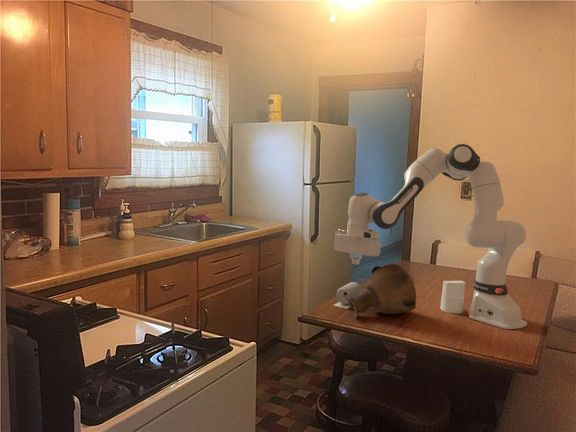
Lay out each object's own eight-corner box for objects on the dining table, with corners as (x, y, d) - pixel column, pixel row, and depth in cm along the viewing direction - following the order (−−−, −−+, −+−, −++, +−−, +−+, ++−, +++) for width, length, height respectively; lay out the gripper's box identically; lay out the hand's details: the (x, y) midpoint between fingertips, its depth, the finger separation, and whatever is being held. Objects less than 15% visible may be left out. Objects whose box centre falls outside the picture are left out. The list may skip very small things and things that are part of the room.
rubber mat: (345, 299, 216) (345, 298, 216) (359, 302, 213) (359, 301, 213) (333, 306, 206) (333, 305, 206) (347, 309, 203) (347, 308, 203)
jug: (405, 305, 212) (341, 321, 203) (397, 259, 212) (332, 273, 203) (433, 310, 193) (363, 329, 184) (424, 260, 193) (354, 276, 184)
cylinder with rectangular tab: (448, 313, 204) (451, 285, 202) (436, 306, 212) (438, 279, 211) (467, 312, 206) (470, 284, 205) (454, 306, 215) (457, 278, 213)
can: (365, 296, 214) (354, 302, 204) (350, 300, 218) (338, 307, 207) (358, 279, 215) (347, 285, 204) (344, 284, 218) (332, 290, 208)
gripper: (332, 229, 214) (330, 261, 216) (377, 235, 203) (374, 268, 205) (338, 228, 219) (337, 259, 221) (382, 233, 209) (380, 266, 210)
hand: (355, 263), depth 213 cm, fingers closed
